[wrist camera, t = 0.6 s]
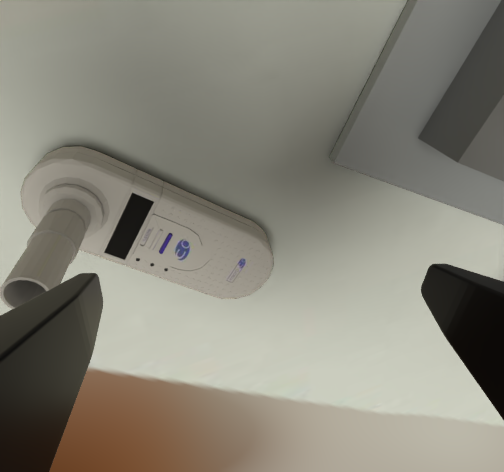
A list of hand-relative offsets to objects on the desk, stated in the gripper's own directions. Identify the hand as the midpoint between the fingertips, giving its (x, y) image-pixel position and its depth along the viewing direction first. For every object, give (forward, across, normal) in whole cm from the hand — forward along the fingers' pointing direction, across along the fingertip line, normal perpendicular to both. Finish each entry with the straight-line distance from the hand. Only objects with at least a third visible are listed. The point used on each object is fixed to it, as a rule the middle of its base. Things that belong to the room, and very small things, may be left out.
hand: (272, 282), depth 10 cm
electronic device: (+14, -4, -6) cm, 16 cm away
